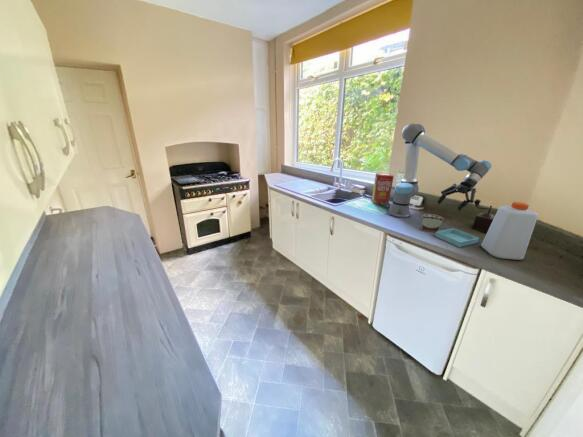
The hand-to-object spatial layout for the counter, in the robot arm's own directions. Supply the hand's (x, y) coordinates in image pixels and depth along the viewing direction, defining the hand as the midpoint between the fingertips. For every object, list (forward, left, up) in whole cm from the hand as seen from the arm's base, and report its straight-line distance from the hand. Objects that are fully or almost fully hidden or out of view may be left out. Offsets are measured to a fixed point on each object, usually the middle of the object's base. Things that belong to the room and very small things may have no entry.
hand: (448, 205), depth 151 cm
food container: (-1, -11, -16) cm, 19 cm away
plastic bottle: (+35, -2, -16) cm, 38 cm away
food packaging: (-59, 0, -16) cm, 61 cm away
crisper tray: (+15, -9, -15) cm, 23 cm away
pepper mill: (+9, +25, -16) cm, 30 cm away
